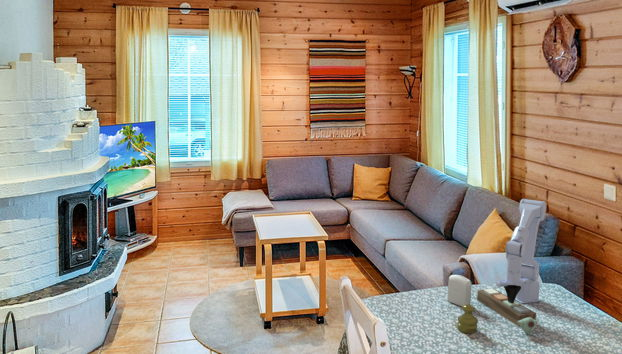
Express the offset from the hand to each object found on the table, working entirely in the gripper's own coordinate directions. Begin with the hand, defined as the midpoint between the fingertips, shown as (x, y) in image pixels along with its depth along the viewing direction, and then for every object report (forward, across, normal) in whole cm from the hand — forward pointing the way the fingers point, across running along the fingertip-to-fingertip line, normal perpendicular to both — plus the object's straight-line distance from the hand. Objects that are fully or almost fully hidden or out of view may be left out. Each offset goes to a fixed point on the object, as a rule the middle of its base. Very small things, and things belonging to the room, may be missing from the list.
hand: (510, 302), depth 237 cm
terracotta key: (+2, 0, +7) cm, 7 cm away
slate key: (+2, 0, -7) cm, 7 cm away
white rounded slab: (+6, -14, +16) cm, 22 cm away
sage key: (+2, 0, 0) cm, 2 cm away
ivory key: (+2, 0, +13) cm, 13 cm away
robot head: (+6, -5, -17) cm, 19 cm away
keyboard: (+5, 0, +3) cm, 6 cm away
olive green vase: (+6, -25, -7) cm, 27 cm away
